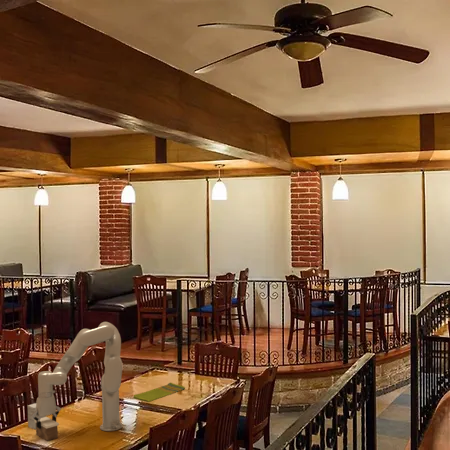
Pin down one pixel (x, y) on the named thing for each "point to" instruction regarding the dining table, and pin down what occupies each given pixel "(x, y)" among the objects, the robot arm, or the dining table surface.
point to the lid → (48, 422)
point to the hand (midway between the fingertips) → (46, 425)
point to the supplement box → (30, 419)
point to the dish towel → (159, 392)
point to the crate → (47, 432)
